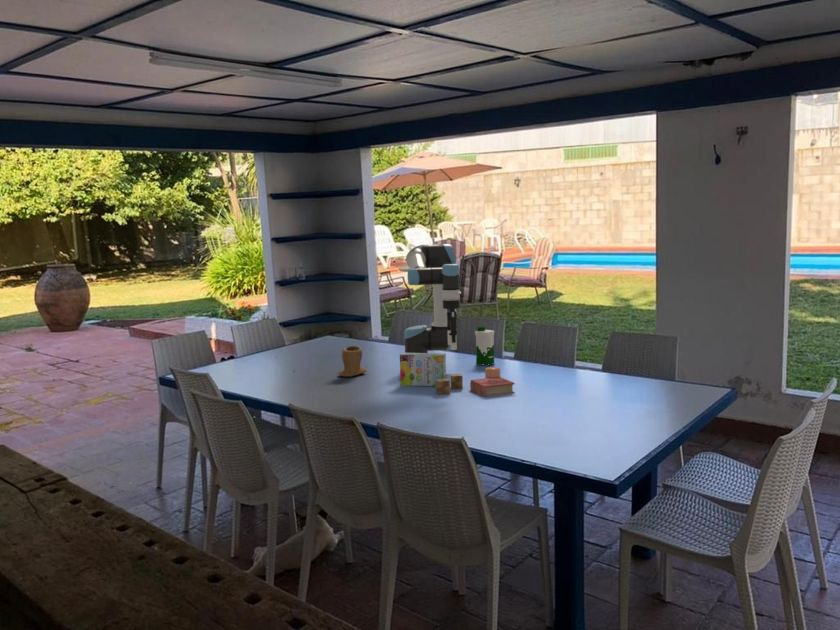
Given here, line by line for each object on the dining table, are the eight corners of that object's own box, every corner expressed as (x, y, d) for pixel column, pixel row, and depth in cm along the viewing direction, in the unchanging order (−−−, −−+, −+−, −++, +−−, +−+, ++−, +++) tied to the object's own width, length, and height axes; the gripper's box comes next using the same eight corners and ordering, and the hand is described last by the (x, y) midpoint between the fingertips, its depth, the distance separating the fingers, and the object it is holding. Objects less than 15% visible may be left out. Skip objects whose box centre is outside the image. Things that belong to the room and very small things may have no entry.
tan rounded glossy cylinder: (486, 387, 331) (486, 370, 330) (484, 384, 338) (484, 367, 337) (501, 386, 332) (501, 369, 331) (499, 383, 338) (499, 366, 337)
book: (469, 390, 327) (469, 380, 326) (499, 387, 332) (499, 376, 331) (483, 397, 313) (483, 386, 313) (514, 393, 319) (514, 382, 318)
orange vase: (350, 379, 357) (349, 349, 355) (334, 376, 365) (333, 347, 363) (372, 374, 368) (371, 345, 366) (357, 371, 376) (356, 342, 374)
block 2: (451, 389, 330) (451, 376, 329) (450, 386, 335) (450, 374, 334) (462, 388, 330) (462, 375, 329) (461, 386, 335) (461, 373, 334)
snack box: (446, 384, 340) (446, 352, 338) (443, 387, 334) (443, 355, 332) (403, 383, 345) (402, 351, 343) (400, 385, 340) (399, 354, 338)
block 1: (439, 395, 319) (439, 381, 318) (435, 392, 324) (435, 379, 323) (450, 393, 321) (449, 380, 320) (446, 391, 325) (446, 378, 325)
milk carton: (482, 362, 392) (481, 325, 389) (496, 363, 386) (496, 326, 384) (473, 364, 385) (473, 327, 382) (488, 366, 379) (487, 328, 377)
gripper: (462, 302, 305) (463, 351, 308) (456, 296, 330) (457, 342, 332) (445, 302, 305) (446, 352, 307) (440, 296, 329) (441, 342, 332)
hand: (452, 347), depth 320 cm, fingers open, 13 cm apart
